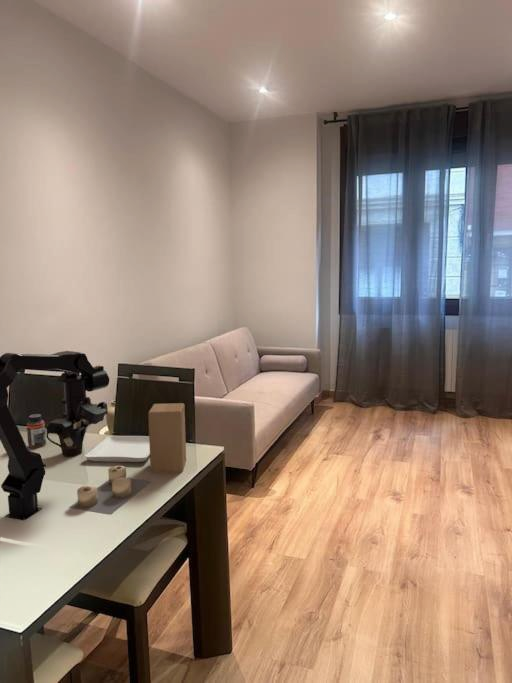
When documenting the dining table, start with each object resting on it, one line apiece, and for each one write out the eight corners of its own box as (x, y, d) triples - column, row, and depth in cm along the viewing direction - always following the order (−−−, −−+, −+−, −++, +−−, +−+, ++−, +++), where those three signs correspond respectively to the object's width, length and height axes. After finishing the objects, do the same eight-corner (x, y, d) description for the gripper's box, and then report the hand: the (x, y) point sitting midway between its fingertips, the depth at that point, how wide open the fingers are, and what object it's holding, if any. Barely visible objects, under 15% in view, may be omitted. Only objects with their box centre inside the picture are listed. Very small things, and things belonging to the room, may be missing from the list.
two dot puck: (120, 486, 140) (119, 472, 140) (105, 484, 142) (104, 470, 141) (129, 479, 145) (129, 466, 145) (115, 477, 147) (114, 464, 146)
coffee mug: (90, 450, 172) (88, 422, 170) (75, 459, 163) (73, 430, 162) (62, 447, 175) (60, 420, 173) (46, 455, 166) (43, 427, 165)
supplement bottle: (28, 444, 178) (25, 414, 176) (45, 441, 181) (43, 412, 179) (28, 449, 173) (25, 418, 171) (46, 446, 175) (44, 416, 174)
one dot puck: (90, 509, 127) (89, 493, 127) (74, 506, 129) (73, 491, 128) (101, 500, 132) (100, 485, 131) (86, 498, 133) (85, 483, 133)
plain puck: (124, 500, 132) (124, 486, 131) (109, 497, 134) (108, 483, 133) (134, 492, 137) (134, 478, 136) (119, 490, 138) (118, 476, 138)
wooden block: (186, 461, 160) (184, 402, 157) (182, 474, 150) (180, 411, 147) (156, 462, 160) (153, 403, 157) (150, 474, 150) (147, 412, 147)
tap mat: (111, 516, 124) (110, 514, 124) (68, 509, 128) (68, 507, 128) (152, 482, 144) (152, 481, 144) (114, 477, 148) (114, 475, 148)
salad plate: (109, 443, 179) (108, 434, 179) (165, 444, 177) (164, 435, 177) (83, 466, 158) (82, 456, 158) (146, 467, 156) (146, 457, 156)
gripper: (78, 405, 127) (81, 463, 129) (118, 389, 144) (121, 439, 146) (43, 402, 130) (47, 458, 132) (87, 387, 147) (90, 436, 150)
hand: (78, 447), depth 140 cm, fingers closed
